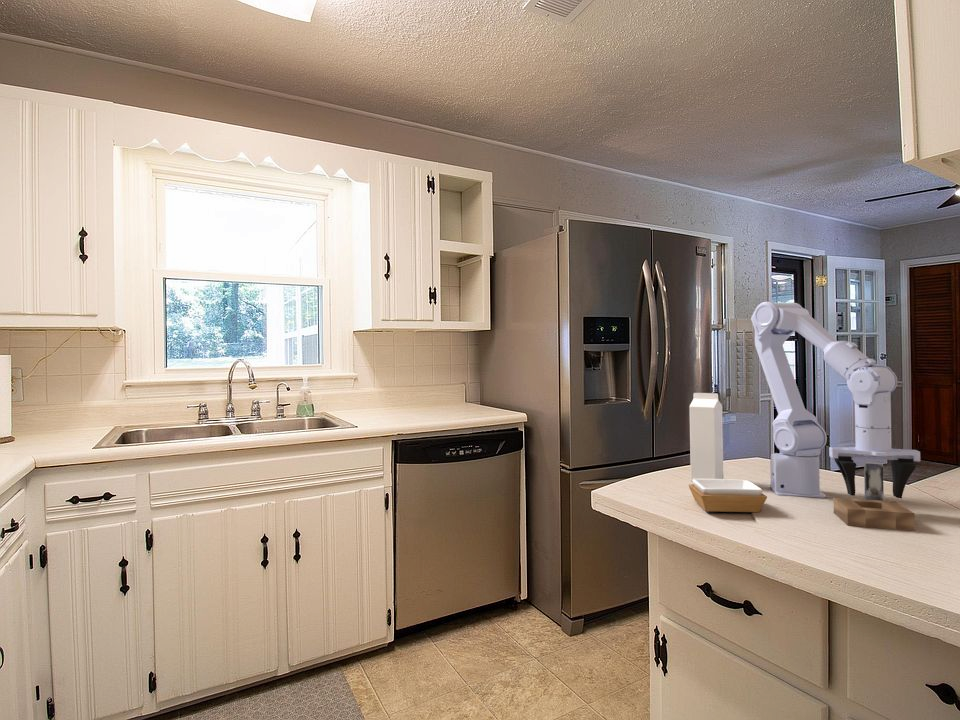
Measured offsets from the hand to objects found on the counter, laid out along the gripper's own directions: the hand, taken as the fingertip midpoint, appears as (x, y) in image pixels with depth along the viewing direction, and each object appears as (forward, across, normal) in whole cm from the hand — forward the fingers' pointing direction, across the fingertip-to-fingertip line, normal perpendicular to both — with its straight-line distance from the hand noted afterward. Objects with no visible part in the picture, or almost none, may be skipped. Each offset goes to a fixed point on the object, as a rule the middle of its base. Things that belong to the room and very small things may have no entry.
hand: (874, 495), depth 103 cm
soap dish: (+3, -27, -5) cm, 28 cm away
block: (+3, -3, -8) cm, 9 cm away
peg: (+3, 0, 0) cm, 3 cm away
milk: (+3, -29, +18) cm, 34 cm away
